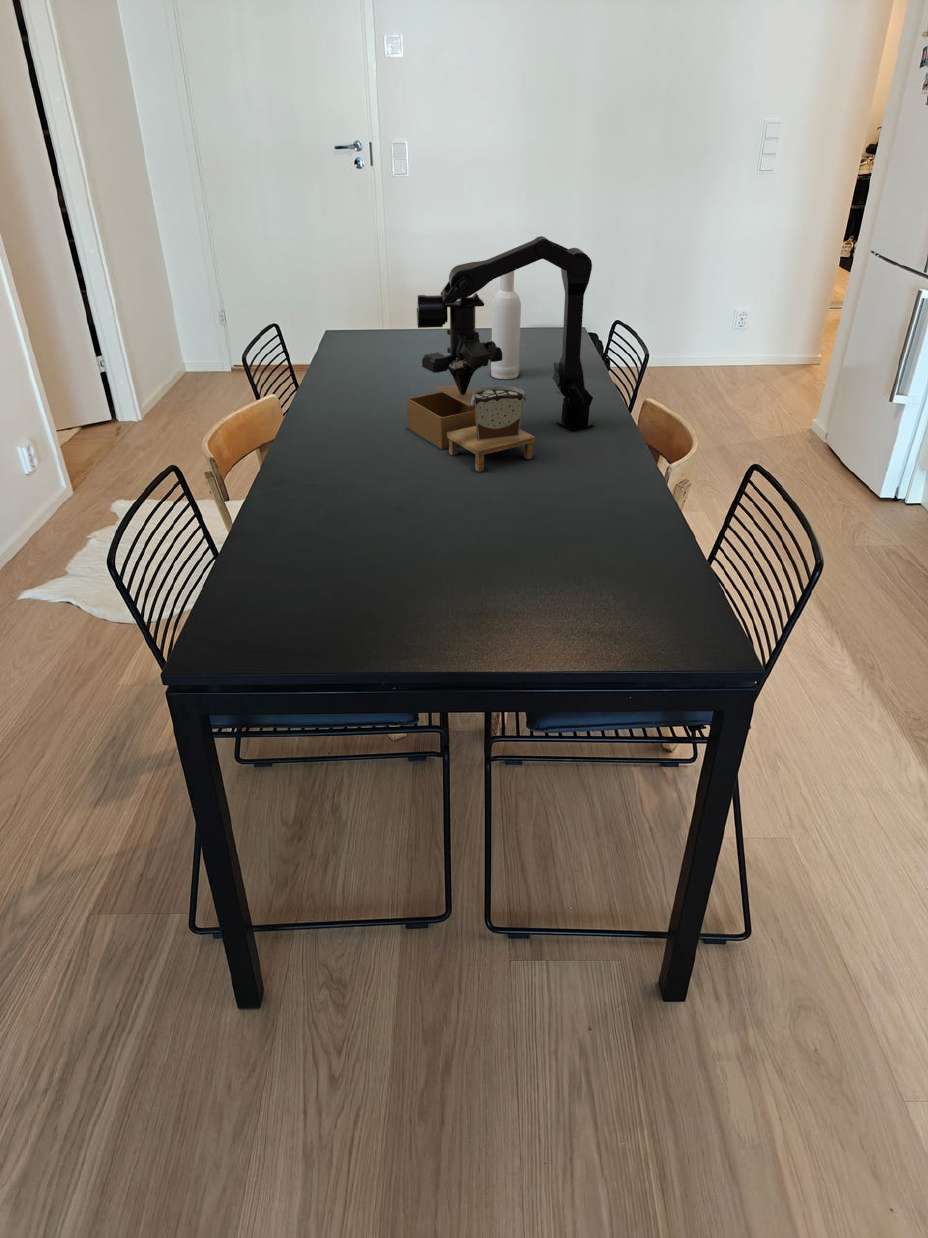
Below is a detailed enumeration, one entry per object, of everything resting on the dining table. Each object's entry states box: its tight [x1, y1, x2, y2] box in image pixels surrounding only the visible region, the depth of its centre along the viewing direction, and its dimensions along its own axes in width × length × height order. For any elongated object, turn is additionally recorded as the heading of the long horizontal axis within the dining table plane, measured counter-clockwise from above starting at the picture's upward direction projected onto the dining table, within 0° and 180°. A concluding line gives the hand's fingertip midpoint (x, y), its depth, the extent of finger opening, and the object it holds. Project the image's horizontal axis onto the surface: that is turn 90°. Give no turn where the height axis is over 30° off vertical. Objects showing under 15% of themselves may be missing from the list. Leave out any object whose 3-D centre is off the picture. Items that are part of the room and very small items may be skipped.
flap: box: [434, 384, 475, 407], centre depth 197 cm, size 7×16×1 cm, turn 32°
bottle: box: [490, 270, 522, 380], centre depth 229 cm, size 8×8×30 cm
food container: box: [471, 385, 527, 441], centre depth 183 cm, size 12×6×10 cm, turn 107°
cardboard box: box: [406, 391, 476, 450], centre depth 198 cm, size 15×16×7 cm
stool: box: [447, 426, 536, 473], centre depth 187 cm, size 13×15×5 cm
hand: (462, 394), depth 197 cm, fingers closed
